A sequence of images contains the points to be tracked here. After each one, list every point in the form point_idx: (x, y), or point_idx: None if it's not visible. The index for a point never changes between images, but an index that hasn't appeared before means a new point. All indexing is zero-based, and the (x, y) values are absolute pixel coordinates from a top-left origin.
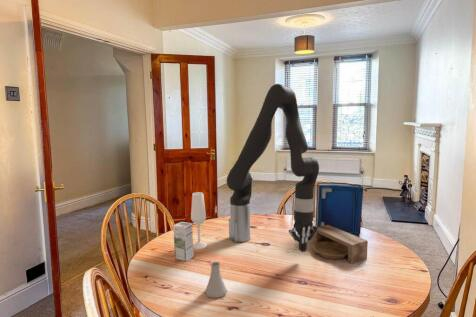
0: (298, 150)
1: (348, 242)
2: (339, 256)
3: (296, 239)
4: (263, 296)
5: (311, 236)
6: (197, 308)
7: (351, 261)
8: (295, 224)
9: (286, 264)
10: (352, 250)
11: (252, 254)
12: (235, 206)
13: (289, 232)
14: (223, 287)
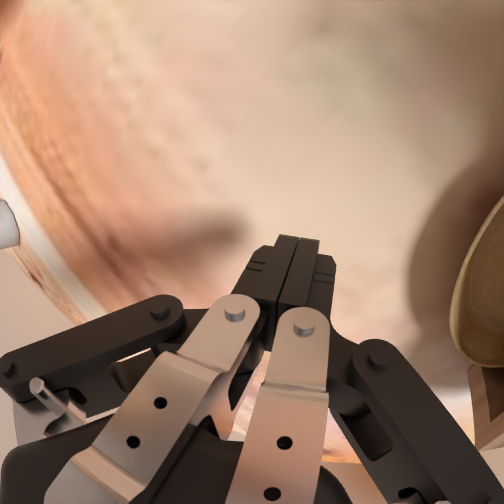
0: None
1: (501, 437)
2: (476, 355)
3: (126, 370)
4: (72, 296)
5: (370, 433)
6: None
7: (469, 377)
8: (22, 494)
9: (184, 190)
10: (475, 426)
11: (91, 3)
12: None
13: (16, 364)
14: (6, 243)
